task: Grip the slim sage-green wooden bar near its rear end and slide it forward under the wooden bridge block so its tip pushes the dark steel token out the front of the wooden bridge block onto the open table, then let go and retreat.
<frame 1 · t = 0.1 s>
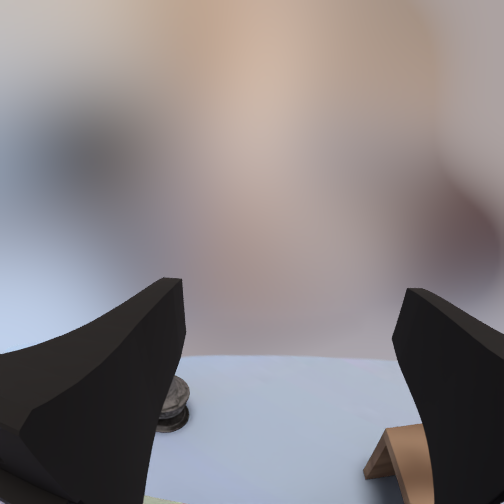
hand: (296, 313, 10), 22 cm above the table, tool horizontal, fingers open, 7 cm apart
salt shaker: (164, 415, 30), on the table
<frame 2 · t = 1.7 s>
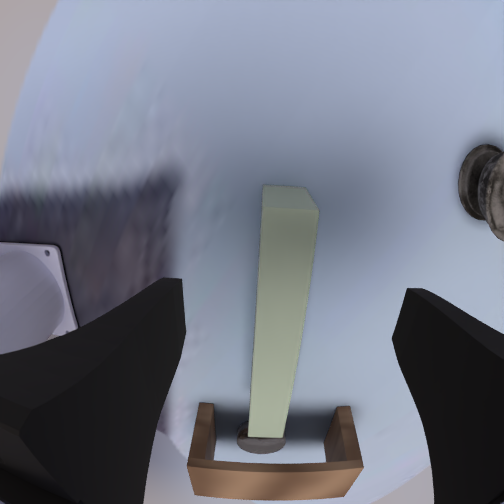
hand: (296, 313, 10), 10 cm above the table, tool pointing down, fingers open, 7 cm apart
bar: (273, 306, 21), on the table
wooden bridge block: (273, 426, 26), on the table
token: (261, 430, 27), on the table
salt shaker: (485, 182, 17), on the table
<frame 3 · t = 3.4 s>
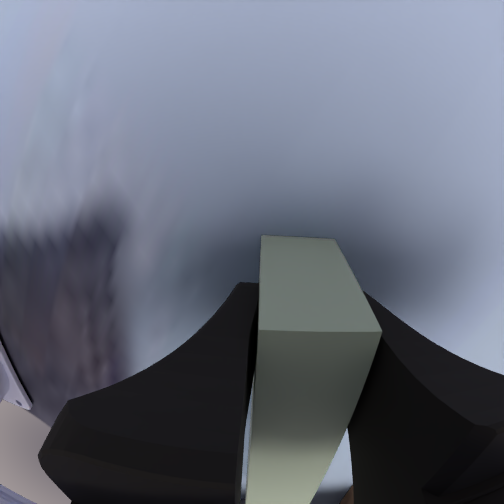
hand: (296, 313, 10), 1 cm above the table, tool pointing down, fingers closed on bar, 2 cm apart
bar: (278, 403, 14), on the table, touching gripper
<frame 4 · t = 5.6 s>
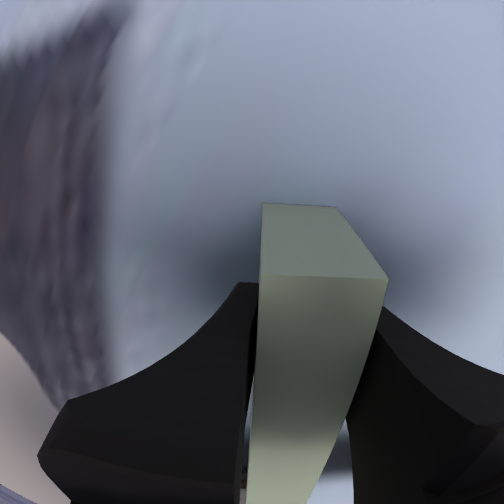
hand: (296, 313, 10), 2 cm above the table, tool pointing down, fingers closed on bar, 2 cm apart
bar: (279, 384, 13), on the table, touching gripper
token: (265, 479, 17), on the table
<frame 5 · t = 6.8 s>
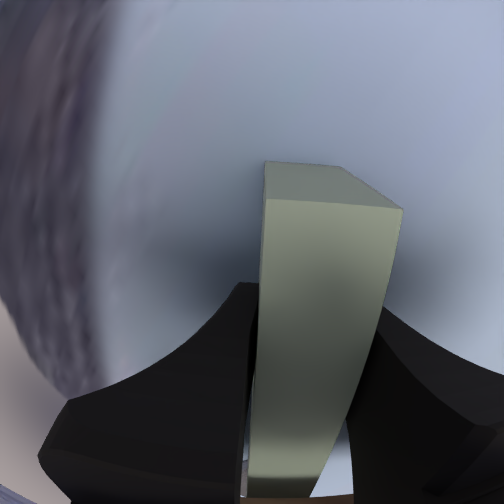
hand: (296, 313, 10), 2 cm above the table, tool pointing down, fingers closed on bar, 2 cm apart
bar: (282, 362, 13), on the table, touching gripper
wooden bridge block: (294, 419, 14), on the table
when the fingers open (2 cm above the table, at t = 7.8 s): bar stays where it is, on the table.
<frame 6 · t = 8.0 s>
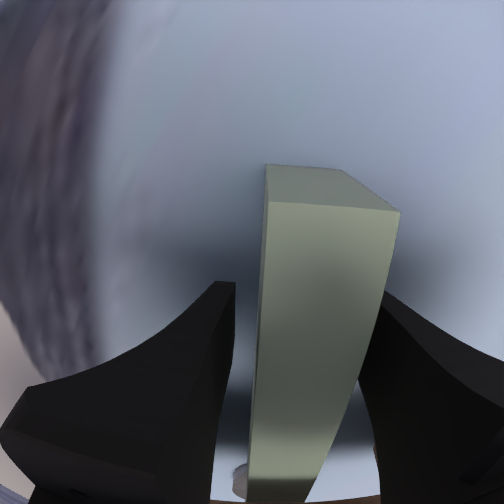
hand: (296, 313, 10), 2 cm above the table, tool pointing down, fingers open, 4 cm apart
bar: (282, 361, 13), on the table
wooden bridge block: (293, 425, 15), on the table
token: (267, 472, 17), on the table
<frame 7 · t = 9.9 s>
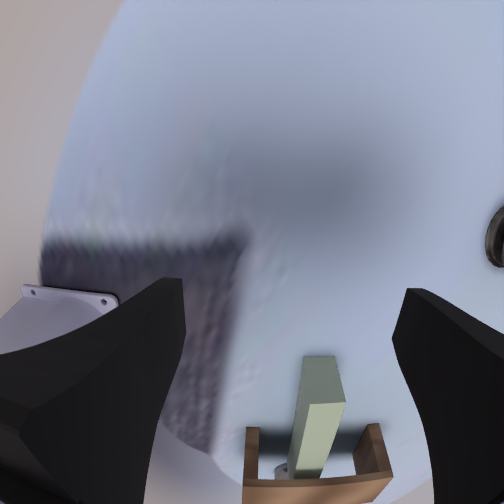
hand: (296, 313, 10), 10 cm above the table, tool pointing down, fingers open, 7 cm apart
bar: (307, 417, 26), on the table
wooden bridge block: (310, 443, 28), on the table
token: (293, 468, 31), on the table
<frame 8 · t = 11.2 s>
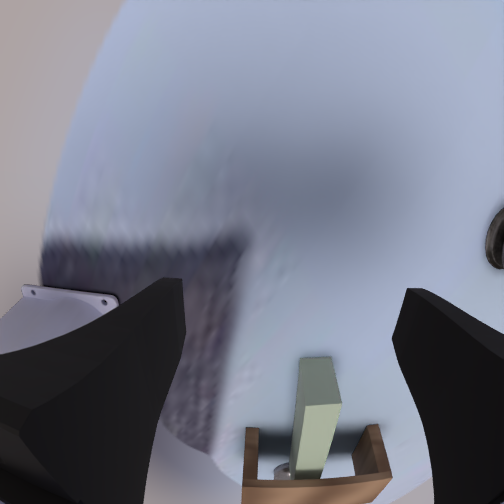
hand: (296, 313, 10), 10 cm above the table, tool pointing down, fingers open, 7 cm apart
bar: (306, 418, 26), on the table
wooden bridge block: (309, 444, 28), on the table
token: (293, 468, 31), on the table
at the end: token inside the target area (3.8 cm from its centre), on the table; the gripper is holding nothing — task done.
